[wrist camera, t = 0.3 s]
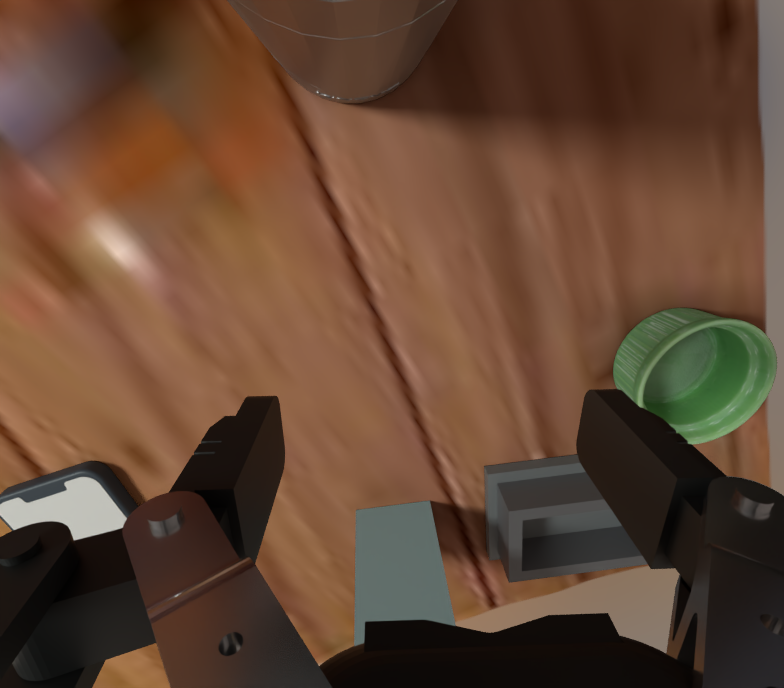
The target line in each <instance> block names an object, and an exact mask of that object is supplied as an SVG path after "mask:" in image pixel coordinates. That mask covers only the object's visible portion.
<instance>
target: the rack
mask: <svg viewBox="0 0 784 688" xmlns="http://www.w3.org/2000/svg"><path fill="white" fill-rule="evenodd" d="M484 472H485V510H486V548H487V554H488V557H489V560H497V559H501V562H502V564H503V567H504V570H505V573H506V576H507V579H508V581H509V582H517V581H524V580H532V579H539V578H547V577H554V576H562V575H570V574H577V573H585V572H592V571H600V570H607V569H615V568H622V567H630V566H637V565H645V564H647V562H646V561H645V559H644V558H643V556H642V555H641V553H640V552H639V550H638V549H637V547H636V546H635V544H634V543H633V541H632V540H631V538H630V537H629V535H628V534H627V532H626V531H625V529H624V528H623V526H622V525H621V523H620V522H619V520H618V519H617V517H616V516H615V514H614V513H613V511H612V510H611V509H610V507H609V506H608V504H607V503H606V501H605V500H604V498H603V497H602V495H601V494H600V492H599V491H598V489H597V488H596V486H595V485H594V483H593V482H592V480H591V479H590V477H589V476H588V474H587V473H586V471H585V470H584V468H583V467H582V465H581V463H580V461H579V458H578V455H569V456H561V457H554V458H546V459H538V460H530V461H522V462H514V463H506V464H498V465H490V466H484Z"/></svg>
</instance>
